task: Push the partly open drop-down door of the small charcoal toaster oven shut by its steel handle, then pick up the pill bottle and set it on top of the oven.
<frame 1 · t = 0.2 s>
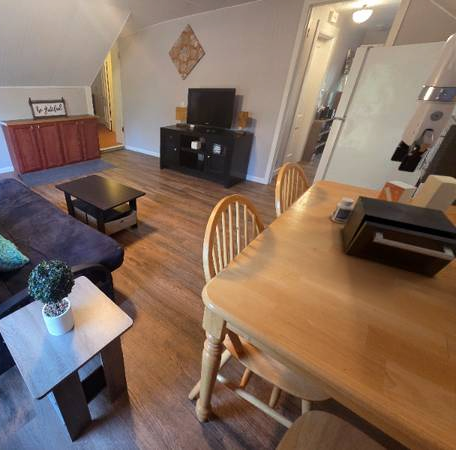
hand: (401, 166, 67), 31 cm above the table, tool pointing down, fingers open, 9 cm apart
oven door: (399, 254, 73), point 7 cm above the table, hinge at 13.9°
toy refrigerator: (413, 229, 98), on the table
pill bottle: (338, 220, 103), on the table
small box: (385, 211, 110), on the table
oven: (380, 249, 86), on the table
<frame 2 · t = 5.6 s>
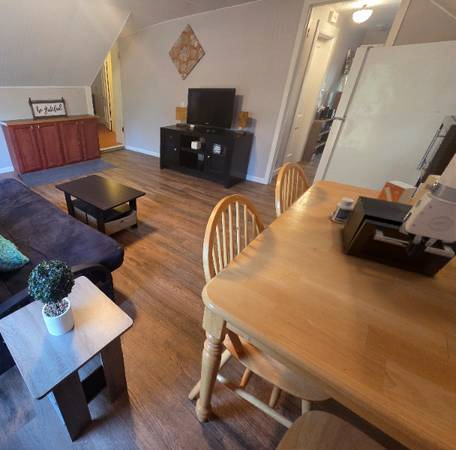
hand: (411, 254, 67), 10 cm above the table, tool pointing down, fingers closed
oven door: (399, 253, 73), point 7 cm above the table, hinge at 10.3°, touching gripper
everything else where it was.
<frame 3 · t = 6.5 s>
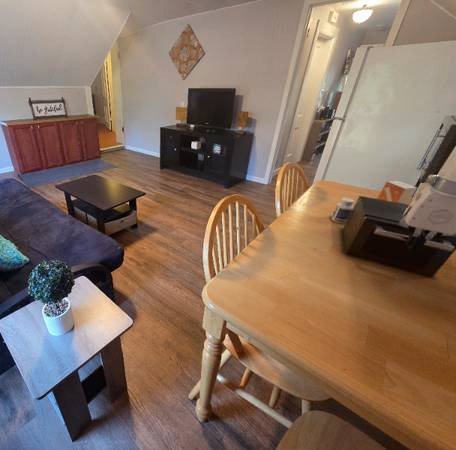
hand: (411, 247, 68), 11 cm above the table, tool pointing down, fingers closed
oven door: (399, 249, 74), point 7 cm above the table, hinge at 1.3°, touching gripper
everything else where it was.
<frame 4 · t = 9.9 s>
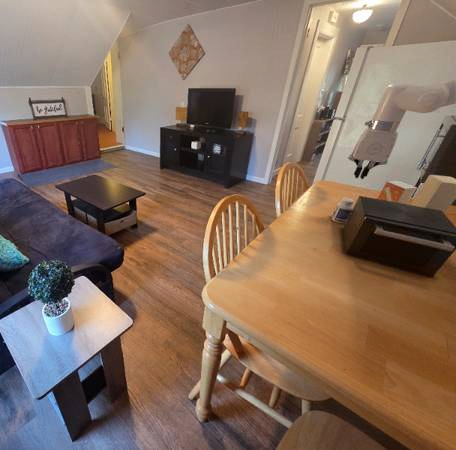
hand: (359, 177, 92), 19 cm above the table, tool pointing down, fingers closed
oven door: (399, 249, 74), point 7 cm above the table, hinge at 1.2°
everything else where it was.
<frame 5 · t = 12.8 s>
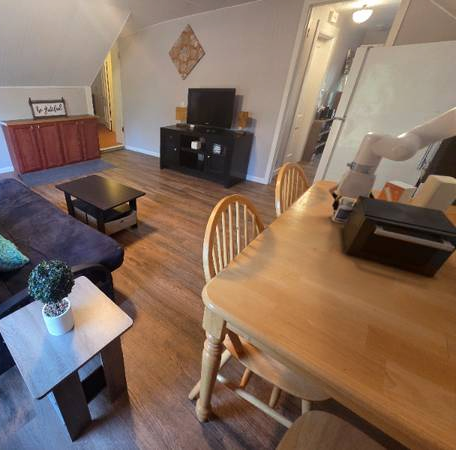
hand: (343, 210, 100), 5 cm above the table, tool pointing down, fingers closed on pill bottle, 5 cm apart
pill bottle: (338, 220, 103), on the table, touching gripper
everything else where it was.
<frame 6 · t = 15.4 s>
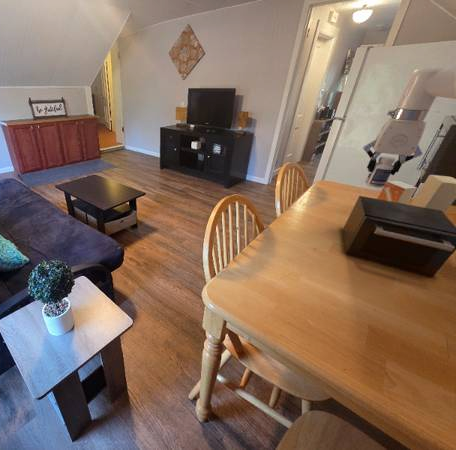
hand: (380, 171, 84), 24 cm above the table, tool pointing down, fingers closed on pill bottle, 5 cm apart
pill bottle: (373, 185, 87), point 19 cm above the table, touching gripper
everything else where it was.
when the fingers open (20 cm above the table, at t = 18.1 s): pill bottle stays where it is, resting on oven.
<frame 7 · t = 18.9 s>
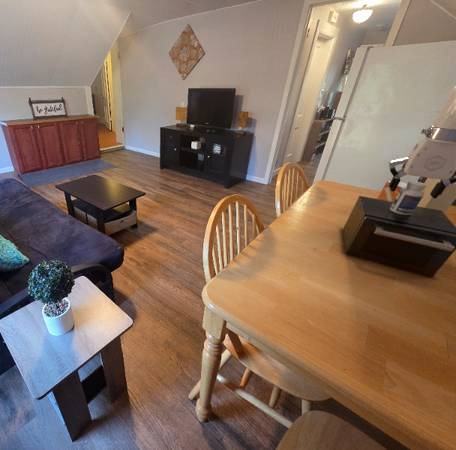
hand: (411, 193, 75), 22 cm above the table, tool pointing down, fingers open, 9 cm apart
pill bottle: (399, 212, 78), point 15 cm above the table, touching oven
everything else where it was.
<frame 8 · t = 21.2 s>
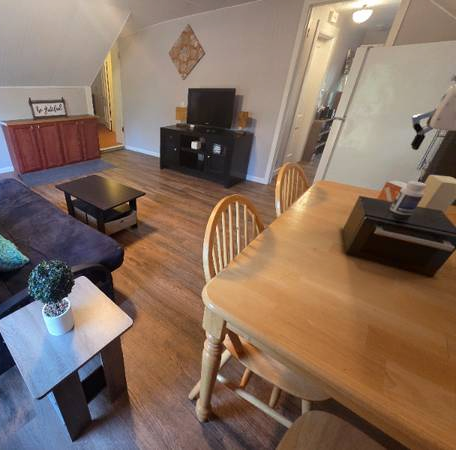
hand: (437, 151, 68), 34 cm above the table, tool pointing down, fingers open, 9 cm apart
nothing on the table moved.
at the end: oven door at +1° (first picture: +15°); pill bottle inside the target area on the oven (0.9 cm from its centre), point 14.8 cm above the oven's base; pill bottle tilted 0° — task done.
